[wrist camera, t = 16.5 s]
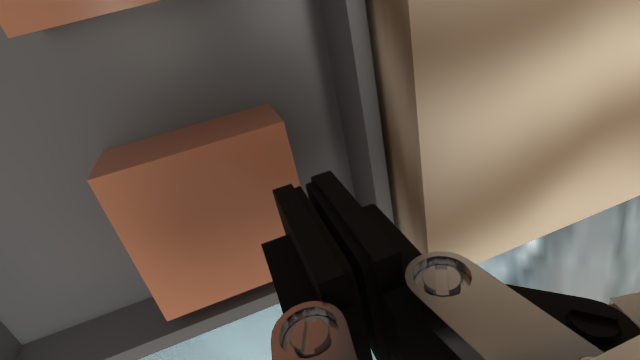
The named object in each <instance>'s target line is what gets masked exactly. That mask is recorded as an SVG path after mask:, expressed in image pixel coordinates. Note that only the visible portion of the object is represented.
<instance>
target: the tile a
mask: <svg viewBox="0 0 640 360" xmlns="http://www.w3.org/2000/svg"><path fill="white" fill-rule="evenodd" d="M160 1H164V0H0V25H1V27H2V28H3V30H4V32H5V33H6V35H7V37H8V38H13V37H17V36H22V35H26V34H31V33H35V32H40V31H44V30H48V29H52V28H56V27H60V26H64V25H68V24H72V23H76V22H80V21H84V20H88V19H92V18H96V17H100V16H104V15H108V14H112V13H116V12H120V11H124V10H128V9H132V8H136V7H140V6H144V5H148V4H152V3H156V2H160Z"/></svg>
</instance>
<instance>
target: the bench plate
mask: <svg viewBox="0 0 640 360" xmlns="http://www.w3.org/2000/svg"><path fill="white" fill-rule="evenodd" d="M365 5H366V12H367V20H368V28H369V35H370V43H371V51H372V58H373V66H374V74H375V81H376V89H377V97H378V104H379V112H380V120H381V127H382V135H383V143H384V150H385V158H386V166H387V173H388V181H389V189H390V196H391V204H392V212H393V219H394V225H395V226H396V227H397V228H398V229H399V230H400V231H401V232H402V233H403V234H404V235H405V236H406V238H407V239H408V240H409V241H410V242H411V243H412V244H413V245H414V246H415V247H416V248H417V249H418V250H419V251H420V252H421V253H422V255H423V254H425V253H428V252H435V251H445V252H452V253H456V254H459V255H461V256H463V257H465V258H467V259H469V260H470V261H472V262H473V263H475V264H478V263H480V262H482V261H485V260H487V259H490V258H492V257H494V256H497V255H499V254H501V253H504V252H506V251H509V250H511V249H513V248H516V247H518V246H520V245H523V244H525V243H527V242H530V241H532V240H535V239H537V238H539V237H542V236H544V235H546V234H549V233H551V232H554V231H556V230H558V229H561V228H563V227H565V226H568V225H570V224H573V223H575V222H577V221H580V220H582V219H584V218H587V217H589V216H592V215H594V214H596V213H599V212H601V211H603V210H606V209H608V208H611V207H613V206H615V205H618V204H620V203H622V202H625V201H627V200H630V199H632V198H634V197H637V196H639V195H640V0H365Z"/></svg>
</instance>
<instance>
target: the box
mask: <svg viewBox="0 0 640 360" xmlns="http://www.w3.org/2000/svg"><path fill="white" fill-rule="evenodd" d="M267 103H269V104H270V105H271V107H272V108H273V109H274V110H275V111H276V113H277V114H278V115H279V116H280V117H281V119H282V120H283V121H284V124H285V128H286V132H287V136H288V140H289V144H290V148H291V152H292V155H293V159H294V163H295V167H296V171H297V175H298V179H299V183H300V186H301V187H302V189H303V191H304V192H305V194H306V195H307V197H308V194H307V190H306V184H307V183H310V182H311V177H312V176H315V175H318V174H321V173H324V172H326V171H331V172H332V173H333V174H334V175H335V176H336V177H337V179H338V180H339V181H340V182H341V183H342V184H343V185H344V187H345V188H346V189H347V190H348V191H349V192H350V194H351V195H352V196H353V197H354V198H355V199H356V200H357V202H358V203H359V204H360V205H361V206H362V207H364V206H367V205H369V204H375V205H376V206H377V207H378V208H379V209H380V210H381V211H382V212H383V213H384V214H385V215H386V216H387V217H388V218H389V219H390V221H391V222H392V223H393V224H394V219H393V212H392V204H391V196H390V189H389V181H388V173H387V166H386V158H385V150H384V143H383V135H382V127H381V120H380V112H379V104H378V97H377V89H376V81H375V74H374V66H373V58H372V51H371V43H370V35H369V28H368V20H367V12H366V5H365V0H164V1H160V2H156V3H152V4H148V5H144V6H140V7H136V8H132V9H128V10H124V11H120V12H116V13H112V14H108V15H104V16H100V17H96V18H92V19H88V20H84V21H80V22H76V23H72V24H68V25H64V26H60V27H56V28H52V29H48V30H44V31H40V32H35V33H31V34H26V35H22V36H17V37H13V38H8V37H7V35H6V33H5V32H4V30H3V28H2V27H1V25H0V360H138V359H140V358H143V357H145V356H148V355H150V354H153V353H155V352H158V351H160V350H163V349H166V348H168V347H171V346H173V345H176V344H178V343H181V342H183V341H186V340H188V339H191V338H193V337H196V336H198V335H201V334H203V333H206V332H208V331H211V330H213V329H216V328H218V327H221V326H223V325H226V324H228V323H231V322H233V321H236V320H238V319H241V318H243V317H246V316H248V315H251V314H253V313H256V312H258V311H261V310H263V309H266V308H268V307H271V306H273V305H276V304H278V303H280V302H279V299H278V296H277V293H276V289H275V286H274V283H273V281H272V282H269V283H267V284H264V285H261V286H259V287H256V288H254V289H251V290H248V291H246V292H243V293H240V294H238V295H235V296H233V297H230V298H227V299H225V300H222V301H220V302H217V303H214V304H212V305H209V306H206V307H204V308H201V309H199V310H196V311H193V312H191V313H188V314H186V315H183V316H180V317H178V318H175V319H172V320H170V321H167V320H166V319H165V317H164V315H163V313H162V312H161V310H160V308H159V306H158V305H157V303H156V301H155V299H154V298H153V296H152V294H151V292H150V291H149V289H148V287H147V285H146V284H145V282H144V280H143V278H142V277H141V275H140V273H139V271H138V270H137V268H136V266H135V264H134V263H133V261H132V259H131V257H130V255H129V254H128V252H127V250H126V248H125V247H124V245H123V243H122V241H121V240H120V238H119V236H118V234H117V233H116V231H115V229H114V227H113V226H112V224H111V222H110V220H109V219H108V217H107V215H106V213H105V212H104V210H103V208H102V206H101V205H100V203H99V201H98V199H97V198H96V196H95V194H94V192H93V190H92V189H91V187H90V185H89V183H88V182H87V180H88V178H89V176H90V174H91V172H92V170H93V168H94V166H95V165H96V163H97V161H98V159H99V157H100V155H101V153H102V151H105V150H108V149H112V148H115V147H118V146H122V145H125V144H129V143H132V142H136V141H139V140H143V139H146V138H150V137H153V136H156V135H160V134H163V133H167V132H170V131H174V130H177V129H181V128H184V127H188V126H191V125H194V124H198V123H201V122H205V121H208V120H212V119H215V118H219V117H222V116H226V115H229V114H232V113H236V112H239V111H243V110H246V109H250V108H253V107H257V106H260V105H264V104H267Z"/></svg>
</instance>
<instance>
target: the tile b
mask: <svg viewBox="0 0 640 360" xmlns="http://www.w3.org/2000/svg"><path fill="white" fill-rule="evenodd" d="M87 182H88V183H89V185H90V187H91V189H92V190H93V192H94V194H95V196H96V198H97V199H98V201H99V203H100V205H101V206H102V208H103V210H104V212H105V213H106V215H107V217H108V219H109V220H110V222H111V224H112V226H113V227H114V229H115V231H116V233H117V234H118V236H119V238H120V240H121V241H122V243H123V245H124V247H125V248H126V250H127V252H128V254H129V255H130V257H131V259H132V261H133V263H134V264H135V266H136V268H137V270H138V271H139V273H140V275H141V277H142V278H143V280H144V282H145V284H146V285H147V287H148V289H149V291H150V292H151V294H152V296H153V298H154V299H155V301H156V303H157V305H158V306H159V308H160V310H161V312H162V313H163V315H164V317H165V319H166V320H167V321H170V320H172V319H175V318H178V317H180V316H183V315H186V314H188V313H191V312H193V311H196V310H199V309H201V308H204V307H206V306H209V305H212V304H214V303H217V302H220V301H222V300H225V299H227V298H230V297H233V296H235V295H238V294H240V293H243V292H246V291H248V290H251V289H254V288H256V287H259V286H261V285H264V284H267V283H269V282H272V281H273V280H272V277H271V274H270V271H269V268H268V264H267V261H266V258H265V255H264V252H263V249H262V246H261V244H263V243H265V242H268V241H271V240H274V239H276V238H279V237H282V236H285V235H286V234H285V231H284V228H283V225H282V221H281V218H280V215H279V212H278V208H277V205H276V202H275V199H274V195H273V191H272V190H273V189H276V188H279V187H282V186H285V185H288V184H292V185H293V187H294V188H295V187H298V186H300V183H299V179H298V175H297V171H296V167H295V163H294V159H293V155H292V152H291V148H290V144H289V140H288V136H287V132H286V128H285V124H284V121H283V120H282V119H281V117H280V116H279V115H278V114H277V113H276V111H275V110H274V109H273V108H272V107H271V105H270V104H269V103H267V104H264V105H260V106H257V107H253V108H250V109H246V110H243V111H239V112H236V113H232V114H229V115H226V116H222V117H219V118H215V119H212V120H208V121H205V122H201V123H198V124H194V125H191V126H188V127H184V128H181V129H177V130H174V131H170V132H167V133H163V134H160V135H156V136H153V137H150V138H146V139H143V140H139V141H136V142H132V143H129V144H125V145H122V146H118V147H115V148H112V149H108V150H105V151H102V153H101V155H100V157H99V159H98V161H97V163H96V165H95V166H94V168H93V170H92V172H91V174H90V176H89V178H88V180H87Z"/></svg>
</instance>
